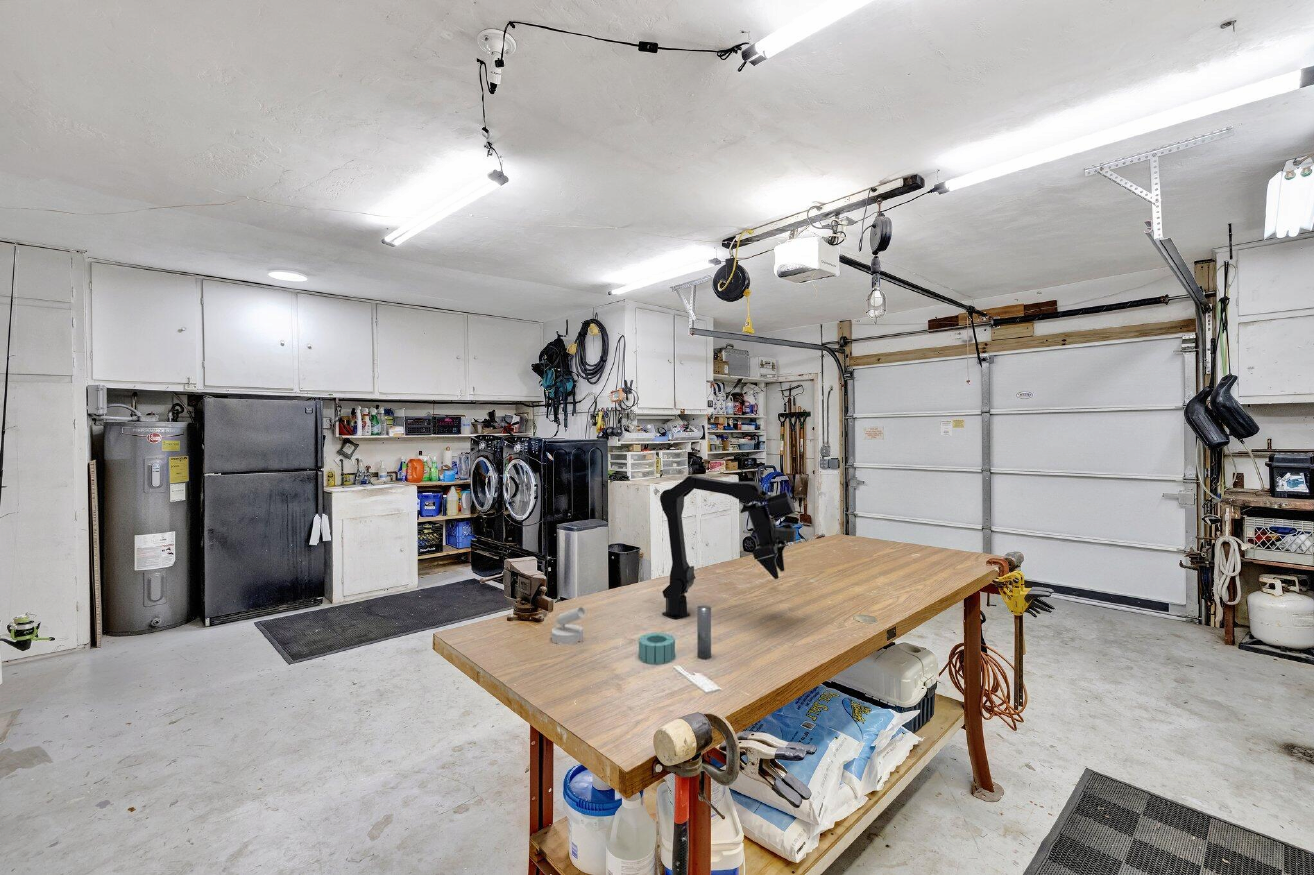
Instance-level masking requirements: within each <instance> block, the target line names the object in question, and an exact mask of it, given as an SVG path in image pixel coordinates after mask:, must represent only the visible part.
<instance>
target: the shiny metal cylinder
mask: <svg viewBox="0 0 1314 875" xmlns="http://www.w3.org/2000/svg"><path fill="white" fill-rule="evenodd" d="M696 618H697V619H696V622H697V623H696V630H697V631H696V632H697V633H696V641H697V642H696V645H697V648H696V650H697V652H696V653H697V655H696V656H697V658H698V659H699V660H709V659H711V658H712V607H711V606H710V605H703V604H702V605H698V606H697V607H696Z"/></svg>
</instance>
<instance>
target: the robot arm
mask: <svg viewBox="0 0 1314 875" xmlns="http://www.w3.org/2000/svg"><path fill="white" fill-rule="evenodd" d="M694 489H695V490H700V491H704V492H705V491H706V492H711V493H717V494H723V495H728V496H731V497H733V498H734V499H736V500H739V501H742V502H745V503H743V505H742V507H741V510H740V511H739V512H740V514H743V513H747V514H748V517H749V520H750V523H751V526H752V534H755V537H756V540H757V543H756V545H757V547H755V548H754V549H753V552H752V557H753V558H754V560H756V561H757V563H759V564H760V565H761V566H762V567H763V568H764V569H765V570H766V571H767V573H769V574H770V575H771V577H772V578H773V579H774V580H778V579H779V577H780V576H779V571H780V572H781V573H782V572H783V573H784V572H785V563H784V550H785V548H786V547H787V542H788V543H789V542H790V543H794V542H795V541H796V539H797V538H796V537H797V529H796V527H794V526H793V524H792V523H786V524H785V525H784V527H783V526H781V527H778V526H777V525H776V523H775V522H772V518H775V519H777V520H778V519H781V518H784V517H788V516H790V515H794V514H796V506H795V503H794V502H793V500H792V497H791V496H790V495H789V493H788V491H787V490H786V491H782V492H780V493H778V494H775V495H770V494H769V493H768V492H767V491H765V490H764V489H763V488H762V485H761V484H760V483H759V482H757V481H753V480H752V481H727V480H723V479H716V478H712V477H710V478H709V477H704V476H699V475H696V474H692V475H688V476H686V477H685V478H684V479H683V480H682V481H681V482H679V483H677V484H676V485H674V486H673V487H671V488H668V489H665V490H663V491H662V493H660V496H659V501H660V506H661V509H662V511H663V513H664V514H665V517H666V519H667V520H666V522H667V527H668V537H669V545H670V546H669V547H670V552H671V555H670V556H671V568H670V573H669V584H668V585H667V586H666V587H665V588H664V589H663V590H662V595H663V599H665V611H662V612H661V614H662V615H663V616H666V617H667V618H668V617H669V618H671V619H674V620H678V619H681V618H684V617H688V616H691V613H690V612H688V602H687V596H686V594H687V593H688V592H689V590H690V588H692V586H693V585H694V583H695V580H696V575H695V566H694V565H690V564H689V562H688V559H687V552H686V551H687V550H686V544H685V543H686V541H685V534H684V525H683V518H682V515H683V513H684V512H683V511H684V507H685V497H687V496H688V495H689V494H691V493H692V492H693V491H694ZM753 502H754V503H753ZM748 503H751V504H748ZM771 517H772V518H771ZM778 570H779V571H778Z"/></svg>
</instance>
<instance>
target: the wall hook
mask: <svg viewBox="0 0 1314 875" xmlns="http://www.w3.org/2000/svg"><path fill="white" fill-rule="evenodd" d="M585 617H586V610H585V608H584V607H583V606H578V607H576V608H574V609H570V610H568V611H565V612H562V613H561V614H558V615H557V618H556V622H557V624H558V625H557V626H554V627H553V628H552V629H551V642H552V641H554V642H555V643H554V642H553V643H554V644H556V643H562V644H568V645H571V644H570V643H574V644H577V643H579V642H578V641H580V642H581V641H582V640H583V639H584V628H583V626H581V625H578V624H570V623H574V622H575V621H579V620H581V619H584V618H585ZM562 644H561V645H562Z"/></svg>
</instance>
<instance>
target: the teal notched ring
mask: <svg viewBox="0 0 1314 875" xmlns="http://www.w3.org/2000/svg"><path fill="white" fill-rule="evenodd" d="M638 658H639V660H640V661H641V662H643V663H645V664H649V665H650V664H651V665H663V664H667V663H670V662H673V661H674V659H675V658H676V639H675V637H674V636H673V635H672V634H669V633H664V632H651V633H649V632H648V633H645V634H643V635H641V636H640V637H638Z"/></svg>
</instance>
